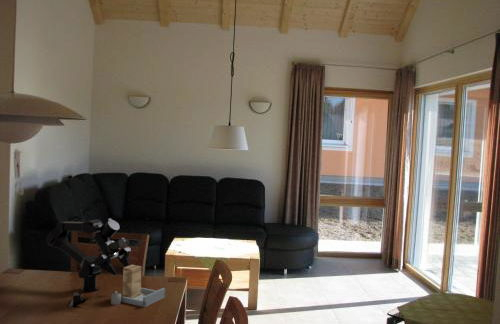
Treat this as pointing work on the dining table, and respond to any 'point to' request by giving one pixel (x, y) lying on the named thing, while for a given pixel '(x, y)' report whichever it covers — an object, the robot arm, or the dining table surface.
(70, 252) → the robot arm
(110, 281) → the dining table surface
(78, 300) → the black chunky block
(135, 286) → the tan wooden block
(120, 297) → the bay
